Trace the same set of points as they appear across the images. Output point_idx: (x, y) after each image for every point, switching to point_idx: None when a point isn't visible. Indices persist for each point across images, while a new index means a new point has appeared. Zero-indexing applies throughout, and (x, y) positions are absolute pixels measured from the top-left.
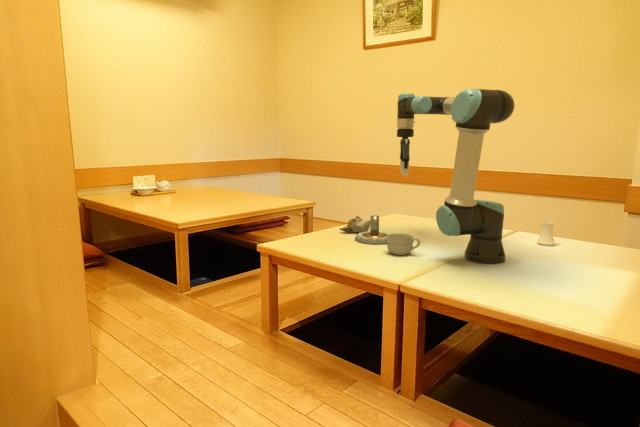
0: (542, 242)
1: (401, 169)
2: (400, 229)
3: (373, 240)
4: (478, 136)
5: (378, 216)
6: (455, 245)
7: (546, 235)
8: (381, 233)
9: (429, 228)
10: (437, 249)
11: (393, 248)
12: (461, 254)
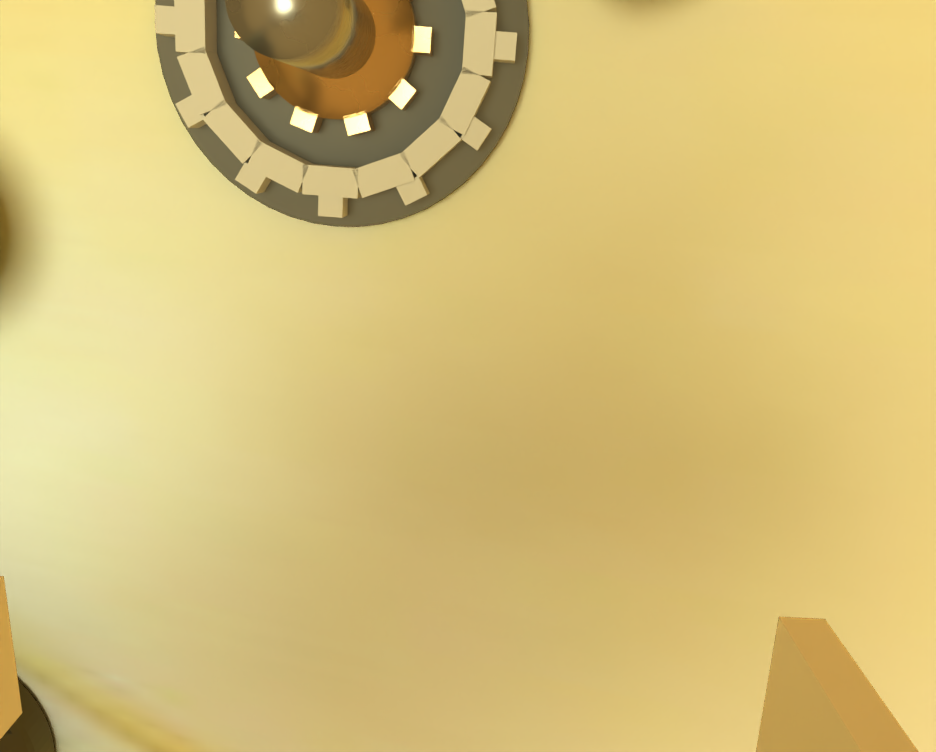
0: None
1: (822, 737)
2: (807, 342)
3: (158, 13)
4: None
5: (270, 47)
6: (244, 658)
7: None
8: (441, 116)
9: (837, 601)
10: (105, 517)
11: None
12: None
